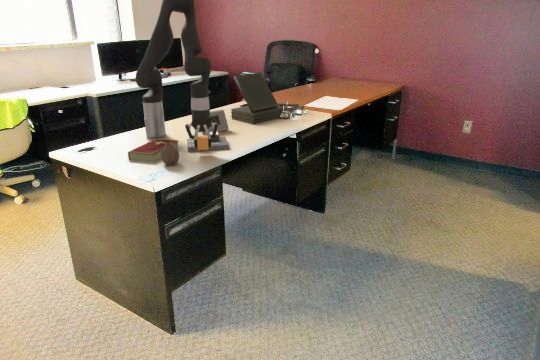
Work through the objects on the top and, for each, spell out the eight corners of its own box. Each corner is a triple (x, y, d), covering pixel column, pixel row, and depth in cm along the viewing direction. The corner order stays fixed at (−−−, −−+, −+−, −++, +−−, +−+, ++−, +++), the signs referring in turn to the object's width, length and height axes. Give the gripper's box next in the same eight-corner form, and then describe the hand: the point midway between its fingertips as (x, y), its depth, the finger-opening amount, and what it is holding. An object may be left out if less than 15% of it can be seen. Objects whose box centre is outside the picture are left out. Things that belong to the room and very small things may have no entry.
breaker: (218, 137, 197) (217, 131, 195) (219, 140, 192) (218, 134, 191) (207, 138, 196) (207, 132, 195) (208, 141, 191) (207, 134, 190)
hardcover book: (128, 160, 175) (127, 151, 174) (156, 146, 194) (155, 137, 192) (153, 163, 172) (152, 153, 170) (179, 148, 190) (178, 139, 189)
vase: (181, 161, 172) (179, 140, 169) (178, 166, 166) (176, 145, 163) (164, 161, 172) (161, 141, 169) (160, 167, 166) (158, 146, 162)
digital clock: (202, 136, 208) (200, 115, 204) (195, 132, 215) (194, 112, 211) (231, 131, 215) (230, 111, 212) (224, 128, 223) (223, 108, 219)
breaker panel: (187, 151, 184) (187, 146, 183) (187, 143, 197) (186, 137, 196) (228, 148, 187) (228, 143, 186) (225, 140, 200) (225, 135, 199)
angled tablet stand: (253, 125, 229) (251, 78, 220) (231, 119, 243) (229, 75, 234) (283, 118, 244) (282, 74, 235) (260, 113, 257) (259, 71, 248)
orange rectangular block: (197, 150, 176) (197, 138, 174) (197, 146, 180) (196, 135, 178) (208, 149, 177) (207, 138, 175) (208, 146, 181) (207, 135, 179)
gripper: (182, 110, 167) (186, 151, 174) (218, 108, 170) (220, 149, 176) (182, 106, 174) (185, 145, 181) (217, 105, 177) (219, 143, 183)
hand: (203, 147), depth 178 cm, fingers closed on orange rectangular block, 4 cm apart
